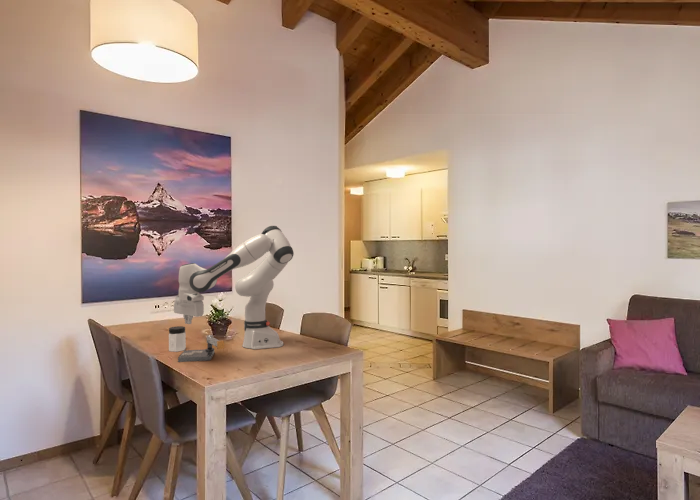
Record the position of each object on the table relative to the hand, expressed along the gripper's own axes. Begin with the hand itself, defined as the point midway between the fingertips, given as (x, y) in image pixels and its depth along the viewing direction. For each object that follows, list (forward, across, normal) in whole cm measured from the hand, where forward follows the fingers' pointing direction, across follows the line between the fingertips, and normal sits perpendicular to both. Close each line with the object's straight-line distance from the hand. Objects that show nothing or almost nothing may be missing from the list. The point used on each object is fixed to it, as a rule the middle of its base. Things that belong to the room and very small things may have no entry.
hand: (188, 323), depth 218 cm
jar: (+18, -21, +7) cm, 28 cm away
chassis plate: (+17, +1, +4) cm, 18 cm away
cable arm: (+12, +8, +10) cm, 17 cm away
